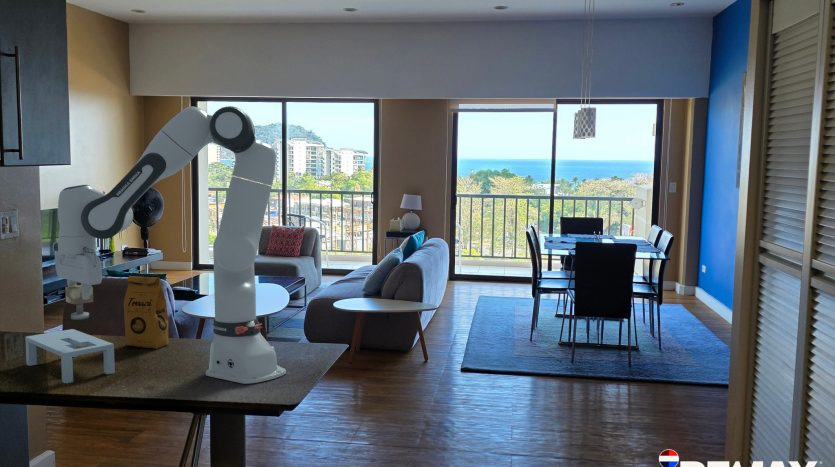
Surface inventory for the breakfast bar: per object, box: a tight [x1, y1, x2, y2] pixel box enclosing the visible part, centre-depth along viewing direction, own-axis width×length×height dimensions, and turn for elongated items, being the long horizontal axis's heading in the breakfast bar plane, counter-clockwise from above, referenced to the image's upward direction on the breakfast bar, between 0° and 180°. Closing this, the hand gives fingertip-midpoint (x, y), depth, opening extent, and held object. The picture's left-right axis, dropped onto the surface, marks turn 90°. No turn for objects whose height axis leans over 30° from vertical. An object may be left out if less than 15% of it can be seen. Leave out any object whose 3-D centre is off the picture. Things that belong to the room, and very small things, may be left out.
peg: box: [65, 284, 94, 321], centre depth 187 cm, size 5×5×8 cm
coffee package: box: [123, 275, 169, 350], centre depth 218 cm, size 10×12×22 cm
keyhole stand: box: [25, 328, 116, 384], centre depth 194 cm, size 26×13×8 cm, turn 49°
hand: (79, 297), depth 187 cm, fingers closed on peg, 5 cm apart
